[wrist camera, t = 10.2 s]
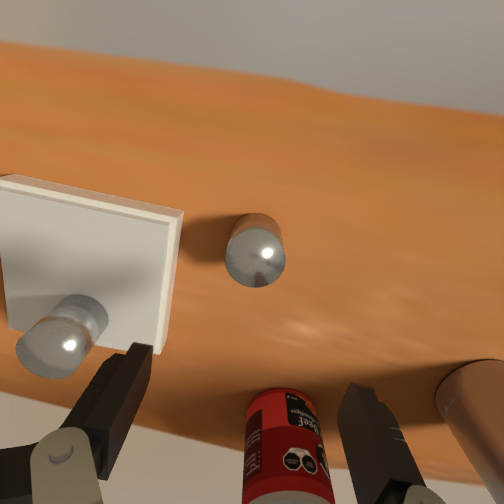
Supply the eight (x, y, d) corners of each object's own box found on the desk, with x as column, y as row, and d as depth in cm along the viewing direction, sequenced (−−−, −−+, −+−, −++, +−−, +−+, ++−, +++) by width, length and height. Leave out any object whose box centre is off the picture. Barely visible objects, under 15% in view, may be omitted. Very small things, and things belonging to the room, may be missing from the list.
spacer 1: (109, 299, 26) (76, 337, 21) (108, 339, 28) (78, 383, 23) (56, 290, 26) (12, 326, 21) (59, 331, 27) (19, 373, 23)
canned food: (325, 422, 35) (351, 542, 25) (262, 440, 37) (263, 560, 27) (301, 376, 33) (320, 490, 23) (235, 397, 34) (225, 513, 24)
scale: (184, 210, 26) (174, 221, 23) (166, 339, 31) (157, 360, 28) (8, 172, 25) (-23, 178, 22) (21, 312, 30) (-3, 330, 28)
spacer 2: (286, 219, 26) (292, 239, 21) (274, 264, 28) (276, 292, 23) (236, 207, 26) (231, 226, 21) (226, 254, 27) (220, 280, 23)
